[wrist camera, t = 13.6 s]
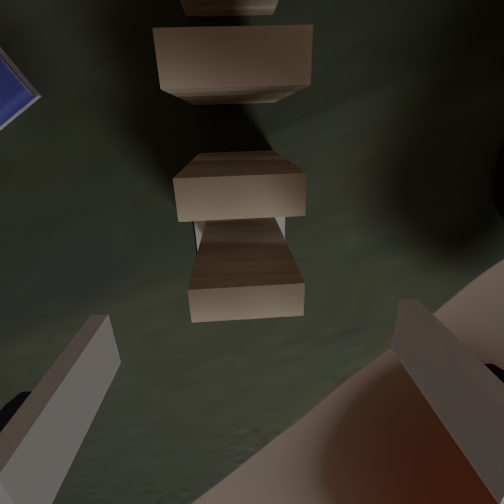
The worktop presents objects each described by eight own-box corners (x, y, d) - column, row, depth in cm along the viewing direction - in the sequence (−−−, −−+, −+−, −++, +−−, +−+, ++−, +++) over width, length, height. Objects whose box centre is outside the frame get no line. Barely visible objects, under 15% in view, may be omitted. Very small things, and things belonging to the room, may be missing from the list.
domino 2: (273, 175, 25) (305, 215, 14) (202, 178, 25) (178, 221, 14) (273, 150, 24) (306, 173, 13) (199, 153, 24) (172, 178, 13)
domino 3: (274, 237, 27) (303, 315, 16) (208, 240, 27) (191, 322, 16) (274, 216, 26) (304, 283, 15) (206, 219, 26) (187, 290, 15)
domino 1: (272, 102, 23) (310, 84, 12) (194, 105, 23) (160, 89, 12) (272, 72, 22) (313, 24, 11) (191, 74, 22) (152, 27, 11)
